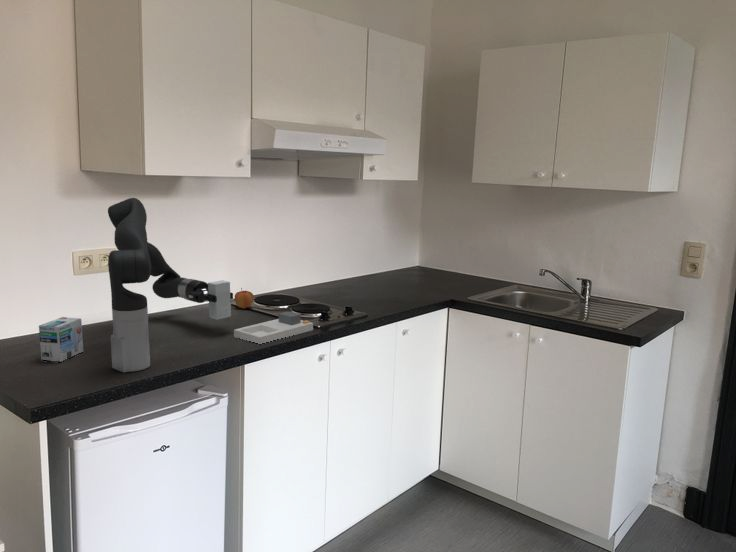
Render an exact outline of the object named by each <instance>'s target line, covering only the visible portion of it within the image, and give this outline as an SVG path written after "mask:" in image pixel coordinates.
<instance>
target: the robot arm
mask: <svg viewBox="0 0 736 552" xmlns="http://www.w3.org/2000/svg"><path fill="white" fill-rule="evenodd" d="M107 214H108V217H109V220H110V222H111V224H112V225H113V227H114V228H115V229H114V230H115V231H114V246H115V247H116V249H117V250H116V249H115V250H112V251H110V252H109V254H108V258H107V266H108V274H109V276H108V277H109V282H110V283H109V285H110V292H111V294H110V295H111V313H112V314H111V315H112V331H113V332H112V334H111V335H110V353H111V367H112V369H114V370H116V371H118V372H121V373H127V372H128V373H129V372H138V371H142V370H145V369H147V368H149V367H150V366H151V354H150V353H151V352H150V333H149V311H148V299H147V297H146V296H145V295H144V294H141V293H137V292H135V291H132V290H129V289H127V288H126V287H125V286H124V285H126V284H127V285H128V284H141V283H142V284H143V283H145V282H147V281H148V280H150V277H151V276H152V277H154V278H155V277H158V278H157V279H156V280H155V281H154V282H153V284H152V291H153V293H154V294H155V295H156V296H158V297H159V298H162V299H172V298H182V299H184V300H187V301H188V302H189V301H190V302H194V303H196V304H197V303H198V304H203V303H205V302H206V303H207V302H209V301H210V302H217V296H215V295H211V294H209V293H208V282H206V281H202V280H200V279H199V280H198V279H195V278H187V277H181V275H180V274H179V273H177V271H176V270H175V269H173V268H172V267H171V266H170V265H169V264H168V263H167V261H166V260H165V258H164V256H163V255H162V253H161V251H160V250H159V248H158V247H156V246H155V245H153V244H152V243H150V242H149V241H148V234H147V228H146V226H147V211H146V208H145V206H144V204H143V203H142V202H141V200H139V199H138V198H137V197H129V198H127V199H124V200H122V201H120V202H119V201H118V202H117V203H115V204H114V203H113V204H112V205H110V206H109V207H108V208H107ZM233 299H234V293H233V292H231V291H230V300H233Z"/></svg>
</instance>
